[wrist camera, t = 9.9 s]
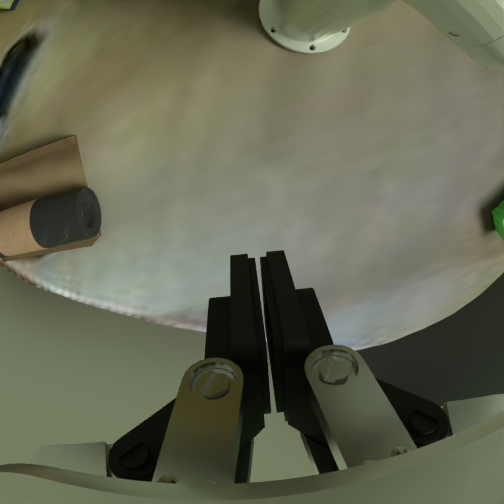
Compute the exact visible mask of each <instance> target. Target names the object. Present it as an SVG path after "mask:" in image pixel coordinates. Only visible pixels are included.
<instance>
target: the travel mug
mask: <svg viewBox="0 0 504 504" xmlns="http://www.w3.org/2000/svg"><path fill="white" fill-rule="evenodd" d="M100 227H101V211H100V206H99V202H98V199H97V197H96V195H95V193H94V192H93V191H92V190H91V189H90V188H87V187H85V188H79V189H75V190H71V191H66V192H62V193H58V194H54V195H50V196H46V197H42V198H39V199H36V200H32V201H29V202H26V203H24V204H21V205H18V206H15V207H12V208H9V209H6V210H4V211H1V212H0V258H3V257H8V256H13V255H17V254H22V253H28V252H33V251H38V250H43V249H48V248H52V247H56V246H60V245H65V244H69V243H73V242H77V241H82V240H86V239H90V238H93V237H95V236H97V234H98V233H99V230H100Z"/></svg>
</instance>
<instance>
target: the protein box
mask: <svg viewBox="0 0 504 504" xmlns="http://www.w3.org/2000/svg"><path fill="white" fill-rule="evenodd" d="M18 1H19V0H0V10H14V9H15V7H16V5H17V3H18Z"/></svg>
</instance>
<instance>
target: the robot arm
mask: <svg viewBox="0 0 504 504" xmlns="http://www.w3.org/2000/svg"><path fill="white" fill-rule="evenodd" d="M394 1H395V0H260V1H259V8H258V12H259V18H260V21H261V24H262V26H263V28H264V29H265V31H266V33H267V34H268V35H269V36H270V37H271V38H272V39H273V40H274V41H275V42H277V43H278V44H279V45H281V46H283V47H285V48H286V49H289V50H291V51H294V52H298V53H303V54H317V53H323V52H326V51H329V50H331V49H333V48H335V47H337V46H338V45H339V44H341V43H342V42H343V41H344V39H345V38H346V37H347V35H348V34H349V32H350V28H351V26H353V25H355V24H357V23H360V22H362V21H364V20H366V19H368V18H370V17H372V16H374V15H376V14H379V13H381V12H382V11H384V10H385V9H387V8H388V7H389V6H390V5H391V4H392V3H393V2H394ZM403 1H404V2H406V3H407V4H409V5H411V6H412V7H413V8H415V9H416V10H417V11H419V12H420V13H421V14H422V15H423V16H425V17H426V18H427V19H428V20H429V21H431V22H432V23H433V24H434V25H435V26H436V27H438V28H439V29H440V30H441V31H442V32H443V33H444V34H445V35H446V36H448V37H449V38H450V39H451V40H452V41H453V42H454V43H455V44H456V45H457V46H458V47H459V48H461V49H462V50H463V51H464V52H465V53H466V54H467V55H468V56H469V57H471V58H472V59H473V60H474V61H476V62H477V63H479V64H480V65H482V66H484V67H487V68H489V69H493V70H499V71H504V0H403ZM271 30H274V31H275V32H274V33H272V32H271ZM341 31H343V32H341ZM309 47H312V50H310V49H309ZM260 264H261V277H262V290H263V304H264V317H265V328H266V336H267V343H268V350H269V358H270V364H271V373H272V379H273V387H274V395H275V402H276V409H277V413H278V412H284V416H285V421H288V424H289V425H290V426H292V427H294V428H295V429H297V430H299V431H300V435H301V439H302V441H303V444H304V447H305V449H306V452H307V455H308V458H309V460H310V463H311V465H312V468H313V470H314V473H315V475H313V476H306V477H299V478H292V479H285V480H276V481H266V482H254V483H250V476H251V467H252V458H253V448H254V437H255V436H256V435H257V434H258V433H259V432H260V431H261V430H262V429H263V428H264V427H265V425H264V424H265V423H264V414H269V413H271V405H270V390H269V376H268V362H267V349H266V339H265V331H264V324H263V316H262V308H261V301H260V293H259V286H258V278H257V271H256V263H255V258H248V254H241V255H231V256H230V290H231V296H227V297H216V298H210V299H209V306H208V318H207V331H206V345H205V359H204V360H200V361H198V362H197V363H195V364H193V365H192V366H191V367H190V368H189V369H188V370H187V371H186V372H185V374H184V376H183V378H182V381H181V385H180V387H179V391H178V394H177V397H176V398H175V399H174V400H172V401H171V402H170V403H168V404H167V405H166V406H164V407H163V408H162V409H160V410H159V411H157V412H156V413H155V414H153V415H152V416H151V417H149V418H148V419H146V420H145V421H144V422H142V423H141V424H140V425H138V426H137V427H135V428H134V429H132V430H131V431H130V432H128V433H127V434H125V435H124V436H123V437H121V438H120V439H119V440H117V441H116V442H115V443H114V444H107V443H106V442H95V443H82V444H65V445H48V446H43V447H41V448H40V449H38V450H37V451H36V452H35V453H34V455H33V456H32V459H31V463H30V464H26V463H25V464H24V463H16V464H4V465H0V504H504V394H496V395H491V396H485V397H479V398H474V399H467V400H460V401H452V402H446V404H445V405H444V406H438V405H437V404H435V403H433V402H431V401H429V400H426V399H424V398H421V397H419V396H417V395H414V394H412V393H410V392H407V391H405V390H402V389H400V388H398V387H395V386H393V385H391V384H388V383H386V382H384V381H381V380H379V379H377V378H375V377H374V376H373V374H372V373H371V371H370V369H369V368H368V366H367V365H366V363H365V361H364V360H363V358H362V357H361V356H360V355H359V354H358V353H357V352H356V351H354V350H353V349H351V348H349V347H346V346H342V345H334V344H333V341H332V338H331V335H330V332H329V330H328V327H327V324H326V321H325V319H324V316H323V313H322V310H321V308H320V305H319V302H318V299H317V297H316V294H315V291H314V289H313V288H305V289H296V290H295V286H294V283H293V280H292V276H291V273H290V270H289V266H288V263H287V260H286V256H285V253H284V250H282V251H272V252H266V257H260Z"/></svg>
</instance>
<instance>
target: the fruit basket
mask: <svg viewBox="0 0 504 504" xmlns="http://www.w3.org/2000/svg"><path fill="white" fill-rule="evenodd" d="M492 214H493V220H494V225H495V230H496V231H497V232H498V234H499V235H500V236H501V238H502V239H503V240H504V201H502V202H501V203H500V204H499V205H498V207H496V208H495V209H493V210H492Z"/></svg>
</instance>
